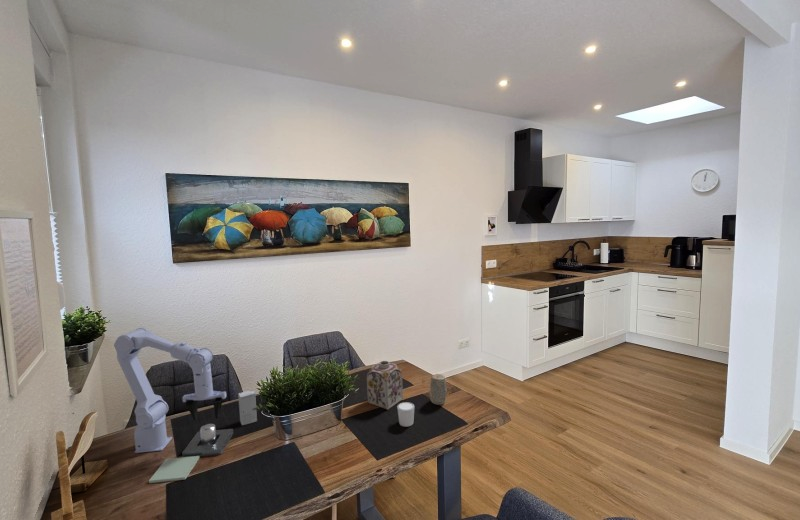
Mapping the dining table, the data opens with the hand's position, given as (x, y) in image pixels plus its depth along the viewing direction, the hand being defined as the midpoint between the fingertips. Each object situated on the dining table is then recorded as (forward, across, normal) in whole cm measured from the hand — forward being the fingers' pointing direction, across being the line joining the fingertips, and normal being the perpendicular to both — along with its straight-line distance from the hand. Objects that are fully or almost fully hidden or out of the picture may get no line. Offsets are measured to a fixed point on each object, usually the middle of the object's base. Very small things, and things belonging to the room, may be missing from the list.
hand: (206, 418), depth 139 cm
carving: (+11, -90, -16) cm, 92 cm away
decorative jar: (+11, -67, -21) cm, 71 cm away
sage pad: (+10, +6, +13) cm, 18 cm away
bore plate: (+10, 0, 0) cm, 10 cm away
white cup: (+11, -74, -2) cm, 75 cm away
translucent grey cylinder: (+10, 0, 0) cm, 11 cm away
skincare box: (+11, -10, -15) cm, 21 cm away
